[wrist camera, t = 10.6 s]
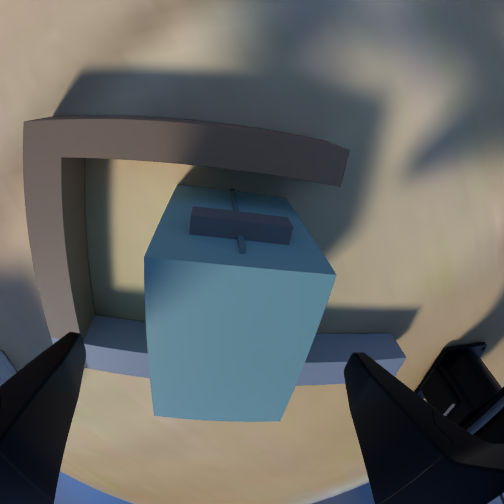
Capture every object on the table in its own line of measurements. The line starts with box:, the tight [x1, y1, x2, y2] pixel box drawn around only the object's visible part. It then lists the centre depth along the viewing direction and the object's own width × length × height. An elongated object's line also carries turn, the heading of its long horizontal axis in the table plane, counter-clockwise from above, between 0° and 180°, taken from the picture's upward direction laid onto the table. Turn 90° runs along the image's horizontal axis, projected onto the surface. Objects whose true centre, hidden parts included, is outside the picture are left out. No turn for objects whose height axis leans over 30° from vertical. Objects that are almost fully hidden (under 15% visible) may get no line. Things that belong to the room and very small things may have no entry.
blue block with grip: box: [144, 185, 336, 422], centre depth 12 cm, size 5×8×7 cm, turn 171°
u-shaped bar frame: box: [23, 115, 406, 386], centre depth 15 cm, size 21×13×2 cm, turn 81°
